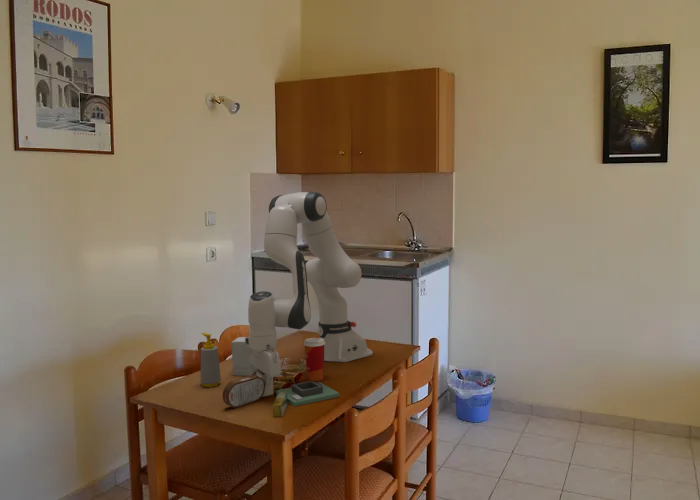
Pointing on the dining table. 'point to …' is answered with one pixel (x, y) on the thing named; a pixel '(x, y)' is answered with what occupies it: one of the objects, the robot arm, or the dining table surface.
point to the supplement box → (241, 358)
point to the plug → (267, 388)
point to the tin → (243, 391)
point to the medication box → (280, 404)
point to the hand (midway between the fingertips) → (264, 383)
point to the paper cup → (314, 358)
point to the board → (308, 393)
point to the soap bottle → (209, 364)
